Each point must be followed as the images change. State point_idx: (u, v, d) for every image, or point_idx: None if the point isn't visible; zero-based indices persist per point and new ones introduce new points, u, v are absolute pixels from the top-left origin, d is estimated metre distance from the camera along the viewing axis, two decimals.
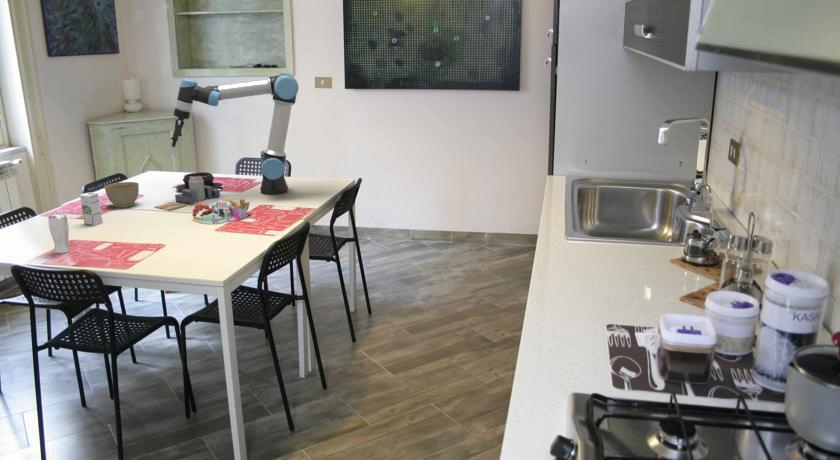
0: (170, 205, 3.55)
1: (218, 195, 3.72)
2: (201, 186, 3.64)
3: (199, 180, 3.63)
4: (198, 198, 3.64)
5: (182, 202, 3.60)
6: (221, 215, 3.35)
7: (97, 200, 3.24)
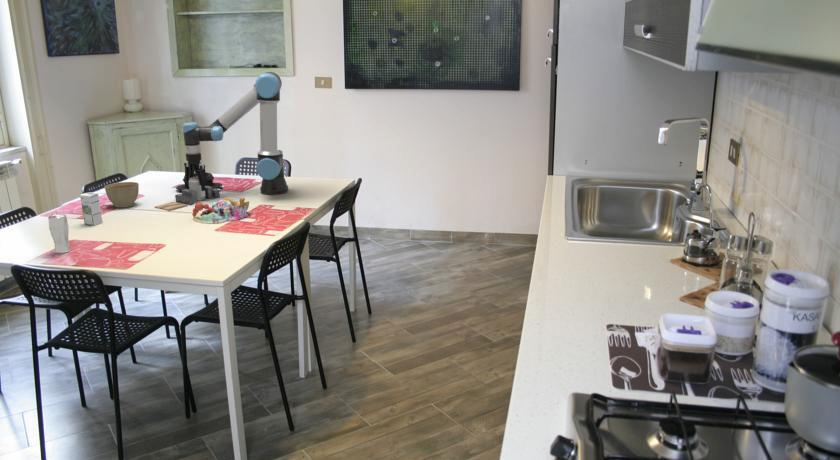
0: (170, 205, 3.55)
1: (218, 195, 3.72)
2: None
3: None
4: (198, 198, 3.64)
5: (182, 202, 3.60)
6: (221, 215, 3.36)
7: (97, 200, 3.24)
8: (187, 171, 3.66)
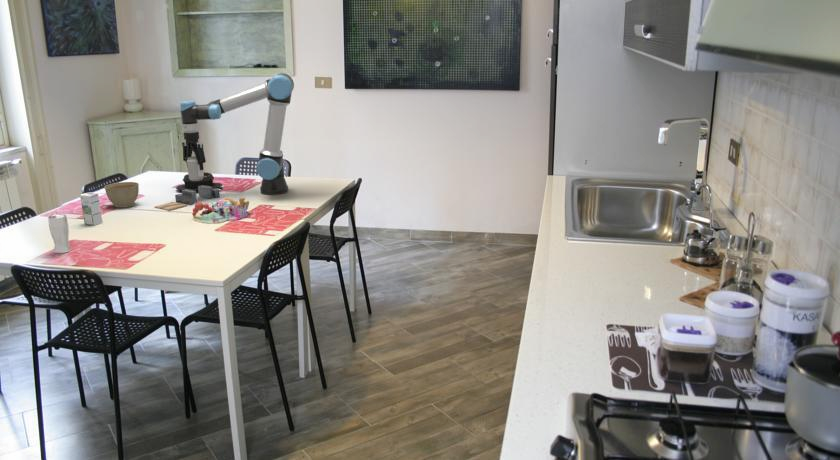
0: (170, 205, 3.55)
1: (218, 195, 3.72)
2: None
3: None
4: (196, 178, 3.61)
5: (182, 202, 3.60)
6: (221, 214, 3.36)
7: (97, 200, 3.24)
8: (185, 150, 3.63)
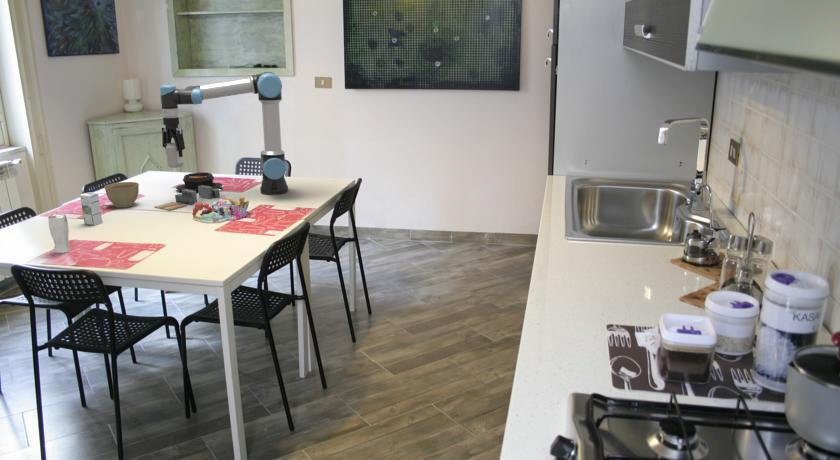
0: (170, 205, 3.55)
1: (218, 195, 3.72)
2: None
3: None
4: (175, 165, 3.50)
5: (182, 202, 3.60)
6: (221, 214, 3.37)
7: (97, 200, 3.24)
8: (165, 136, 3.52)
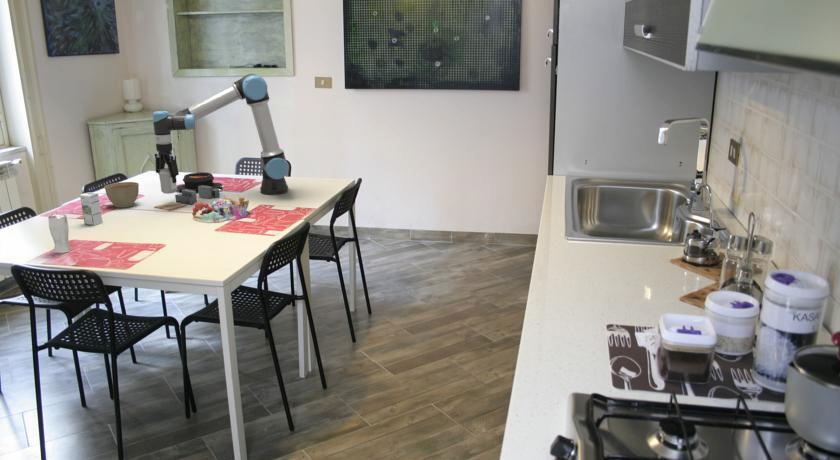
0: (170, 205, 3.55)
1: (218, 195, 3.72)
2: None
3: None
4: (169, 190, 3.49)
5: (182, 202, 3.60)
6: (221, 214, 3.37)
7: (97, 200, 3.24)
8: (158, 162, 3.51)
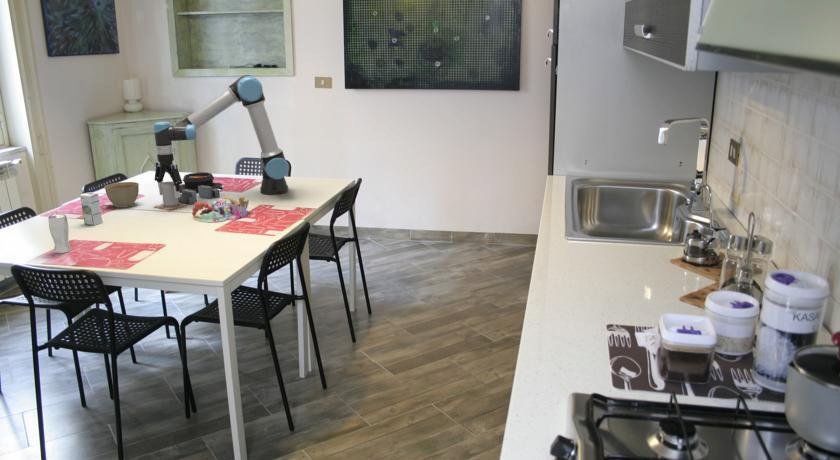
0: None
1: (218, 195, 3.72)
2: None
3: (172, 185, 3.50)
4: (171, 204, 3.51)
5: (182, 202, 3.60)
6: (221, 213, 3.38)
7: (97, 200, 3.24)
8: (158, 171, 3.52)
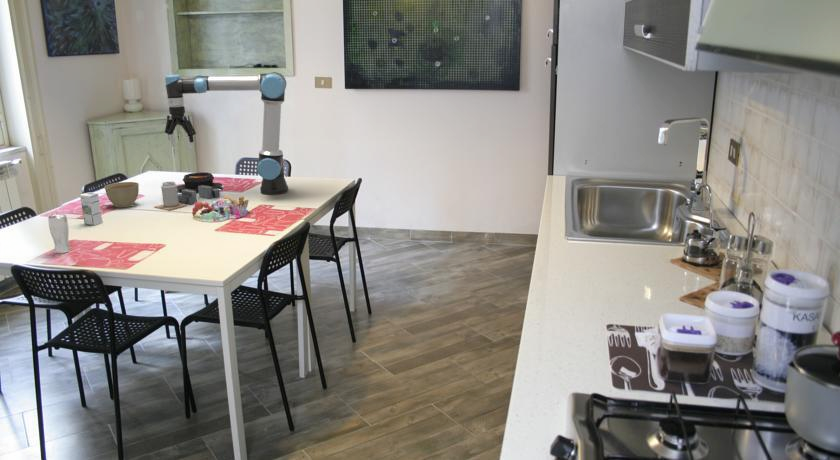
0: None
1: (218, 195, 3.72)
2: (174, 191, 3.50)
3: (172, 185, 3.49)
4: (171, 204, 3.51)
5: (182, 202, 3.60)
6: (220, 213, 3.38)
7: (97, 200, 3.24)
8: (169, 124, 3.58)
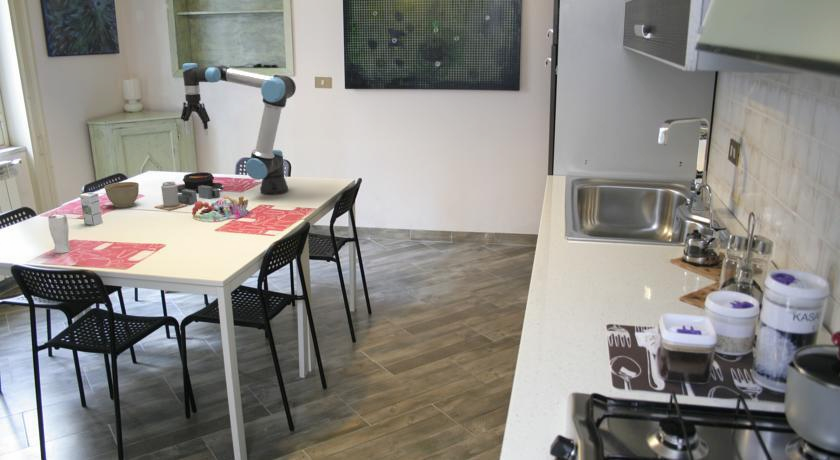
0: None
1: (218, 195, 3.72)
2: (174, 191, 3.50)
3: (172, 185, 3.49)
4: (171, 204, 3.51)
5: (182, 202, 3.60)
6: (220, 213, 3.38)
7: (97, 200, 3.24)
8: (185, 110, 3.71)
